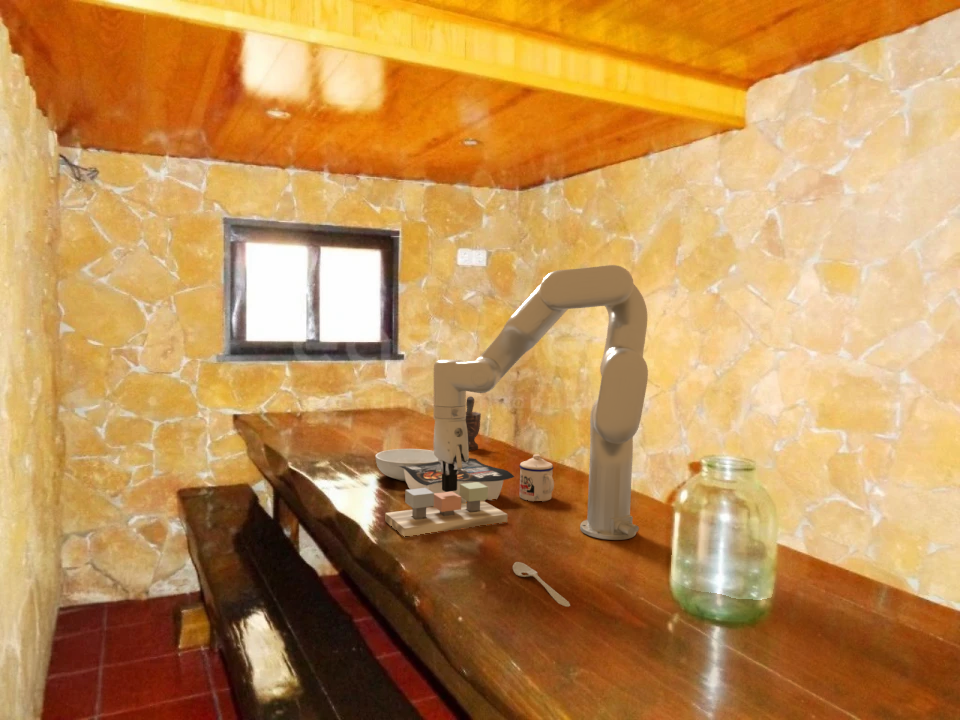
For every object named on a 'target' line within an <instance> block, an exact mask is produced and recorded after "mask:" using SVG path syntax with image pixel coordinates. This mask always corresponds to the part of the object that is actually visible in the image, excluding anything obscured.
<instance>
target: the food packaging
mask: <svg viewBox="0 0 960 720" xmlns="http://www.w3.org/2000/svg"><path fill="white" fill-rule="evenodd" d="M453 461H454V460H453ZM461 462H462V461H461ZM399 467H402V468H403V469H404V474H405V480H406V481H405V483H406V484H407V487H408V488H409V489H418V488H427V489H428V490H430V491H431V492H433V493H443V492H445V491H443V490H442V474H443V473H442V472H441V464H440V462H433V463H428V464H422V465H415V466H399ZM512 478H515V475H514V474H513V473H512V472H510V471H508V470H506V469H503V468H498V467H495V466H490V465H488V464H487V465H486V464H485V463H482V462H481V461H479V460H478V459H477V458H472V457H469V459H468V461H467V462H462V469H458V474H457V490H456V491H449V492H454V493H456V494H457V495H459V496H460V484H464V483H474V482H479V483H481V484H483V485H485V486H487V487H488V499H487V500H488V501H493V500H492V499H496V500H498V498H499V496H500V494H501V491H502V489H503V484H504V481H505V480H506V481H507V480H510V479H512ZM409 489H408V490H409ZM480 501H485V502H486V500H480ZM466 502H467V500H465V499H463V498H462V497H461V504H462V503H466Z"/></svg>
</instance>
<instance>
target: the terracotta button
mask: <svg viewBox="0 0 960 720" xmlns="http://www.w3.org/2000/svg"><path fill="white" fill-rule="evenodd" d="M461 504H462V503H461V496H459V495H457V494H456V493H454V492H443V493H434V506H432V507H435V508H436V509H438V510H439V511H440V514H441V515H443V516H448V515H454V510H461Z"/></svg>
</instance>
